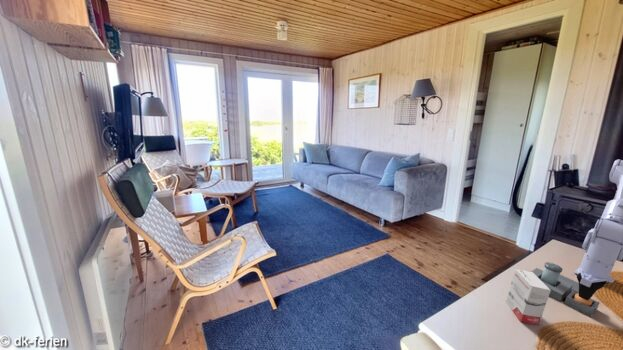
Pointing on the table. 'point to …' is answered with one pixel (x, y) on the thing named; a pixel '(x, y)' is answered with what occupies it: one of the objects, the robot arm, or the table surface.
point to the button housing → (581, 304)
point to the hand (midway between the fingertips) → (583, 297)
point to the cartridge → (551, 273)
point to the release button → (583, 300)
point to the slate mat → (575, 284)
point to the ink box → (527, 296)
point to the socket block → (560, 288)
